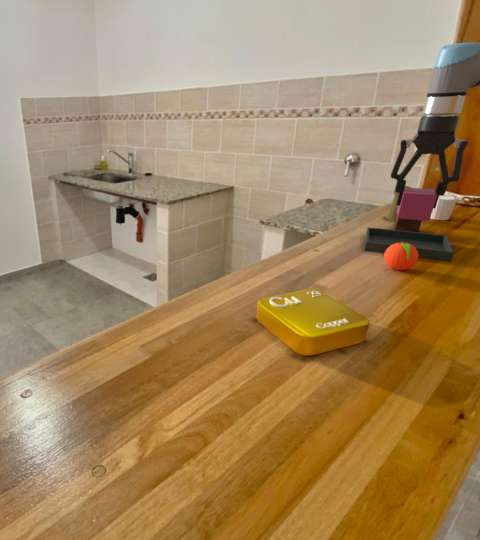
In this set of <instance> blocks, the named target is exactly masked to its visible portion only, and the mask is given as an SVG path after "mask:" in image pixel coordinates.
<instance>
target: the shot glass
mask: <svg viewBox="0 0 480 540" xmlns="http://www.w3.org/2000/svg"><path fill="white" fill-rule="evenodd" d="M457 201H458V198H457V197H455V196H450V195H439V198H438V201H437V204H436V208H433V211H432V214H431V217H430V220H436V221H448V220H449V219H450V217H451V214H452V213H453V210H454V209H455V206H456V204H457Z"/></svg>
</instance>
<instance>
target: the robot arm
mask: <svg viewBox="0 0 480 540" xmlns="http://www.w3.org/2000/svg"><path fill="white" fill-rule="evenodd" d="M469 88H480V42H478V41H468V42H458V43H449V44H446V45H443V46H442V47H441V48H439V50H438V53H437V55H436V58H435V61H434V64H433V66H432V73H431V77H430V82H429V85H428V90H427V93H426V97H425V101H424V104H423V109H422V112H421V113H422V114H423V116H422V117H420V120H419V123H418V128H417V132H416V133H415V136H413V138H408V139H401V140H400V144H399V145H400V148H399V151H398V154H397V156H396V159H395V162H394V163H393V164H394V165H393V167H392V169H391V173H390V178H391V179H394V180H396V184H395V188H394V189H395V192H396V193H399V195H398V199H397V203H396V204H397V205H398V206H400V203H401V200H402V196H403V192H404V189H405V186H407V180H406V179H405V178H406V177H407V176H408V174H409V173H410V172H411V170H412V169H413V167H414V166H415V165H416V163H417V162H418V160H419V159H420V158H421V157H422V155H429V154H430V155H435V156H436V155H437V158H438V160H437V161H438V165H439V172H440V177H441V181H437V182H436V186H435V189H434V190H435V192H436V194H437V197H436V201H435V204H434V207H433V208H436V204H437V201H438V198H439V195H441V196H445V194H446V191H447V188H448V185H449V184H450V183H453V182H458V181H459V180H460V175H461V169H462V163H463V158H464V151H465V149H466V148H467V146H468V145H469V141H468V140H466V139H458V138H456V136H455V135H456V134H455V133H456V131H457V130H456V129H457V126H458V123H459V119H460V117H459V115H458V114H461V112H462V110H463V107H464V102H465V99H466V96H467V92H468V90H469ZM412 144H413V145H414V146H415V147H416V150H415V152H414V153H413V155H412V156H411V158H410V159H409V161H408V162H407V163H406V165H405V166H404V167H403V169H402V171H401V172H400V173H399V170H400V167H401V165H402V163H403V160H404V157H405V156H406V152H407V149H408V148H410V147H411V145H412ZM451 145H454V146H453V147H454V148H455V151H454V159H453V165H452V171H451V175H450V176H449V172H448V171H449V170H448V166H447V165H448V164H447V159H446V152H445V151H446V149H448V148H449V147H450V146H451Z"/></svg>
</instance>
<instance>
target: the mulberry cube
mask: <svg viewBox="0 0 480 540" xmlns="http://www.w3.org/2000/svg"><path fill="white" fill-rule="evenodd" d="M436 197H437V194H436V192H435V189H434V188H420V187H418V188H417V187H411V188H405V189H404V192H403V196H402V200H401V203H400V206H398V208H397V218H400V219H411V220H422V222H423V221H424V222H430V221H431V218H430V217H431V214H432V211H433V207H434V204H435V201H436Z"/></svg>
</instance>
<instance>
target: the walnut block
mask: <svg viewBox="0 0 480 540" xmlns="http://www.w3.org/2000/svg"><path fill="white" fill-rule="evenodd" d="M422 222H423V221H422V220H411V219H400V218H397V216H396V220H394V225H393V230H399V231H409V232H419V233H420V229H421V226H422Z"/></svg>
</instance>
